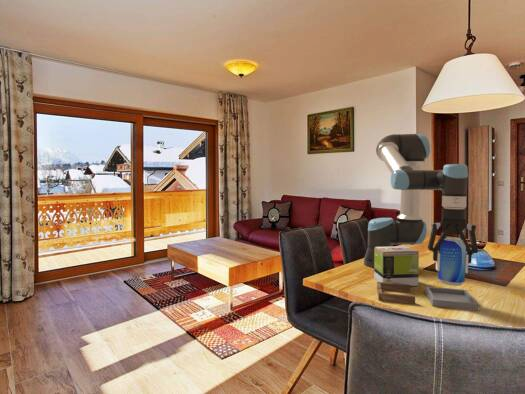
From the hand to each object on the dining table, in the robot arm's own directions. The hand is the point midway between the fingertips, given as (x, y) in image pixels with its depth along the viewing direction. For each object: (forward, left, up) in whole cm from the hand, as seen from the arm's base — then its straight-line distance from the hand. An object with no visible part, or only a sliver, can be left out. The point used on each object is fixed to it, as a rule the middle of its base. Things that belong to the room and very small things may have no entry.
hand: (451, 270), depth 120 cm
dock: (0, -18, -11) cm, 21 cm away
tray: (0, 0, -11) cm, 11 cm away
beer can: (0, 0, -4) cm, 4 cm away
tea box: (-16, -17, -11) cm, 26 cm away
